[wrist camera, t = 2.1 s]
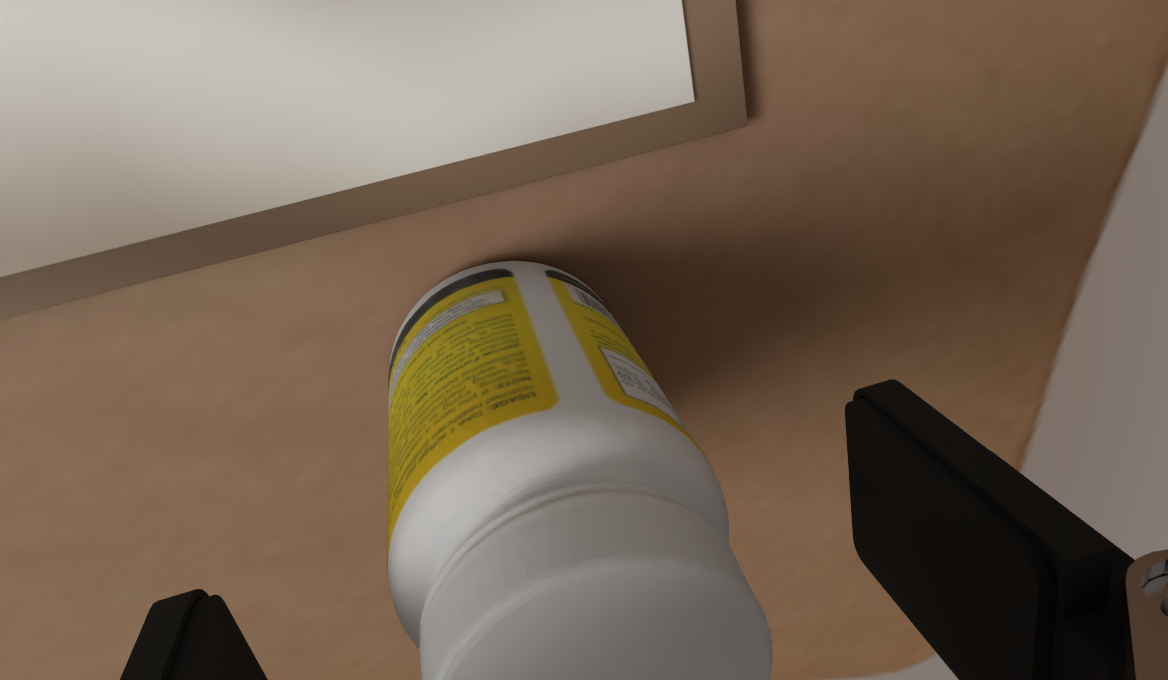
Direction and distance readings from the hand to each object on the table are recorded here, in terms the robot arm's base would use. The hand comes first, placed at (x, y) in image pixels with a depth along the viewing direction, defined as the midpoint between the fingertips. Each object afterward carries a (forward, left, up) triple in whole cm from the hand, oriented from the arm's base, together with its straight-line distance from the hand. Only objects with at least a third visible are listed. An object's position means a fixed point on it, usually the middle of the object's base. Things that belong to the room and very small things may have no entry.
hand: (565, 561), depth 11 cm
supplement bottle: (-1, 0, -6) cm, 6 cm away
